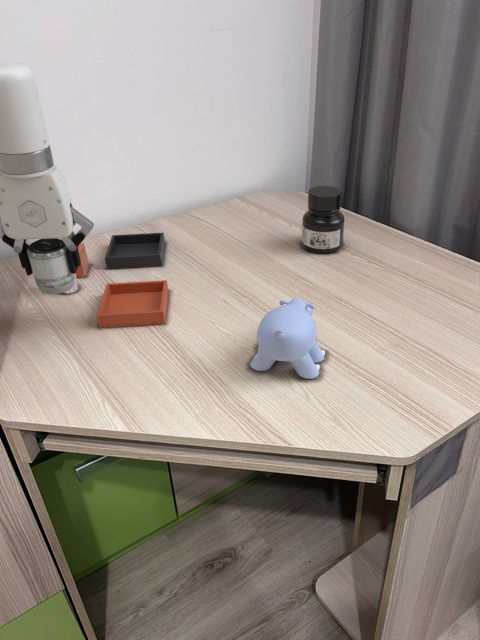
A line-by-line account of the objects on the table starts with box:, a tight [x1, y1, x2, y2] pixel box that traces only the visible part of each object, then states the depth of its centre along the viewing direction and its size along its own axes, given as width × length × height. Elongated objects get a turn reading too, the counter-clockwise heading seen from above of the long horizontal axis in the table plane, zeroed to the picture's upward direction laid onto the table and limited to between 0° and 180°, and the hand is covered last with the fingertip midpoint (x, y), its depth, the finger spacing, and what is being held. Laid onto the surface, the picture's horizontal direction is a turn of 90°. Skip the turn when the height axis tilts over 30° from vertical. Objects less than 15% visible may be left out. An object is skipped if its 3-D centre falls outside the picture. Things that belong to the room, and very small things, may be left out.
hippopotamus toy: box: [249, 298, 326, 380], centre depth 82 cm, size 11×15×10 cm
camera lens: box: [27, 238, 74, 295], centre depth 88 cm, size 6×6×8 cm
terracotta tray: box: [96, 279, 170, 329], centre depth 97 cm, size 11×11×2 cm
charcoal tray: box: [104, 232, 166, 270], centre depth 114 cm, size 11×11×2 cm
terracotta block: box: [76, 242, 90, 278], centre depth 108 cm, size 5×5×5 cm
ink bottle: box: [301, 185, 345, 254], centre depth 114 cm, size 10×9×12 cm
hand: (53, 269), depth 88 cm, fingers closed on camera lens, 6 cm apart
